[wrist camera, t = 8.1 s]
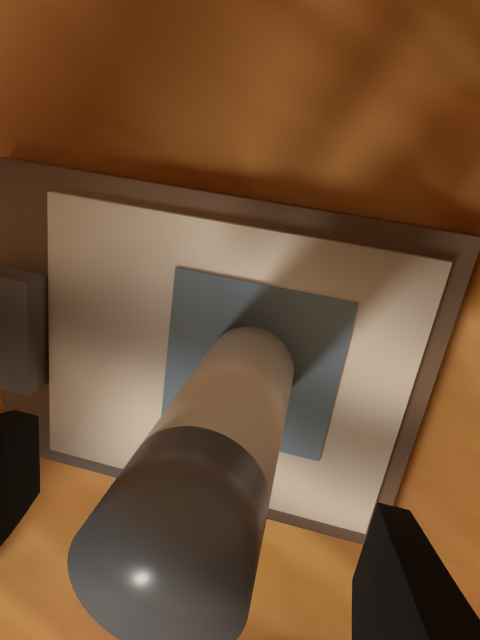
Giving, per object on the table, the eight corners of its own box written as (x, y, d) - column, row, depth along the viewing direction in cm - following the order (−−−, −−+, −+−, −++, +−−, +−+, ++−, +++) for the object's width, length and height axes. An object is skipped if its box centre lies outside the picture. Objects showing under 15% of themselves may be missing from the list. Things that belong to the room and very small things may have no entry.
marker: (285, 415, 15) (234, 681, 7) (203, 396, 15) (66, 626, 7) (301, 336, 14) (263, 542, 6) (213, 318, 14) (68, 487, 6)
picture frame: (376, 532, 17) (381, 576, 15) (19, 437, 19) (-15, 465, 18) (475, 234, 13) (498, 243, 11) (7, 157, 15) (-37, 154, 13)
